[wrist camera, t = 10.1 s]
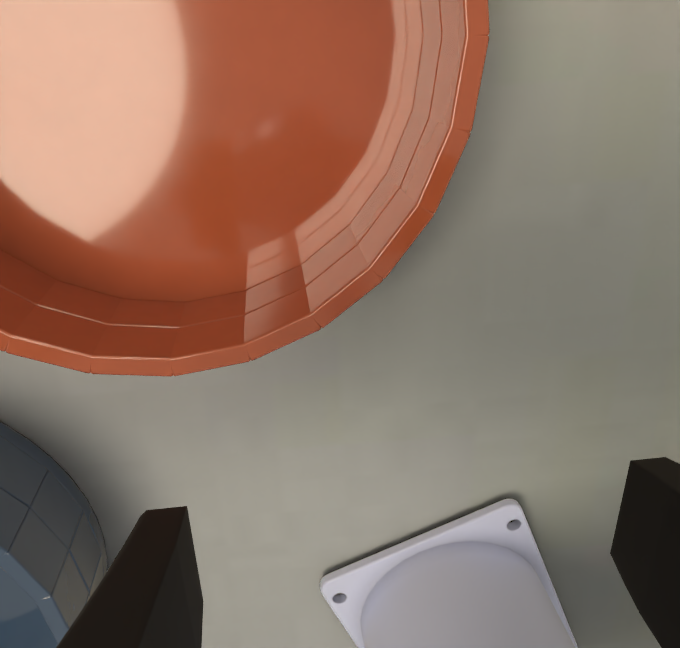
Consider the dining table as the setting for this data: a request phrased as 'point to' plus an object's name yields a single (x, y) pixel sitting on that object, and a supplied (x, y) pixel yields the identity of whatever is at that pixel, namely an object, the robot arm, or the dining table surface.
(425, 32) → the terracotta bowl
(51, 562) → the slate bowl
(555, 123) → the dining table surface
